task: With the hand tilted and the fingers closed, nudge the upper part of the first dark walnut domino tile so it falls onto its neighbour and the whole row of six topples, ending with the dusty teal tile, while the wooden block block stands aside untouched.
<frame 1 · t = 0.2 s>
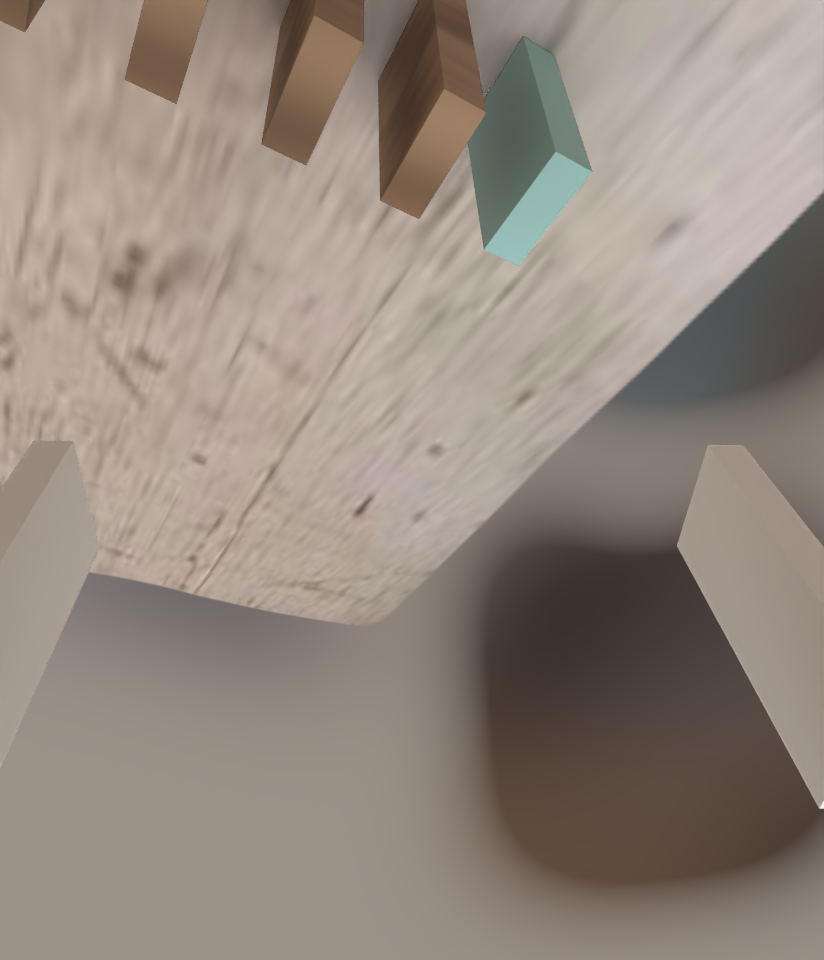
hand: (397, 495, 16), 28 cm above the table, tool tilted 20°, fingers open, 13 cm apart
domino 6: (508, 93, 37), on the table
domino 5: (419, 42, 35), on the table
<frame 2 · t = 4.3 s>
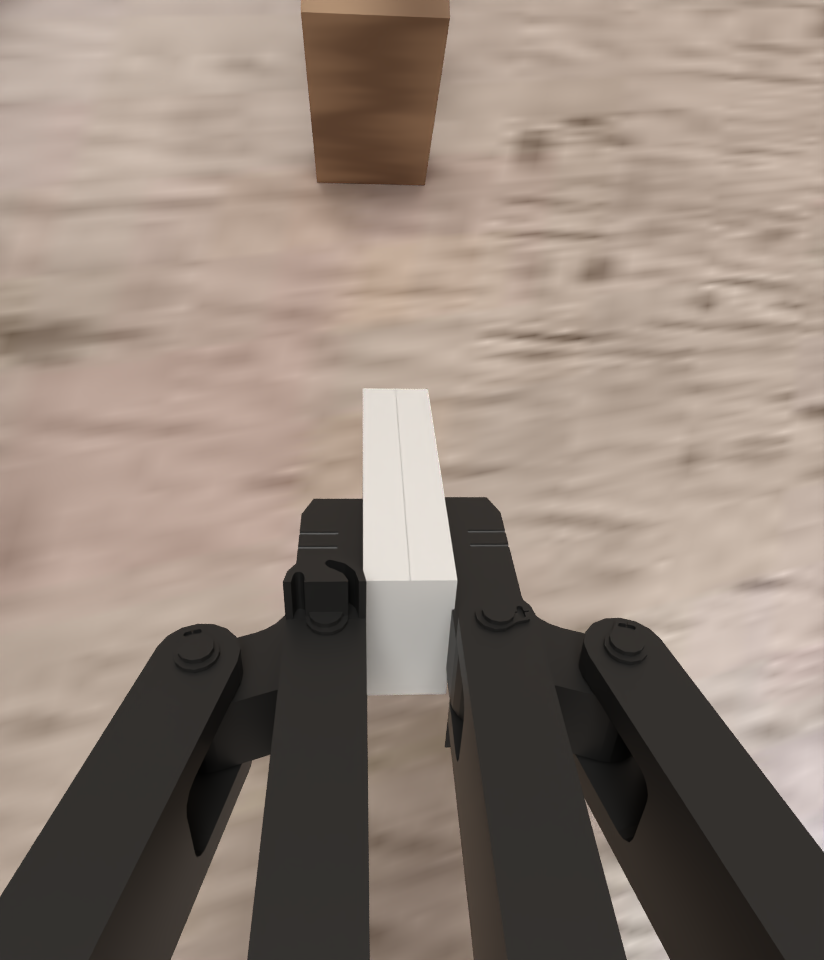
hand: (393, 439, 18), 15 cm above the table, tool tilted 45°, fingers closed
domino 1: (371, 166, 35), on the table
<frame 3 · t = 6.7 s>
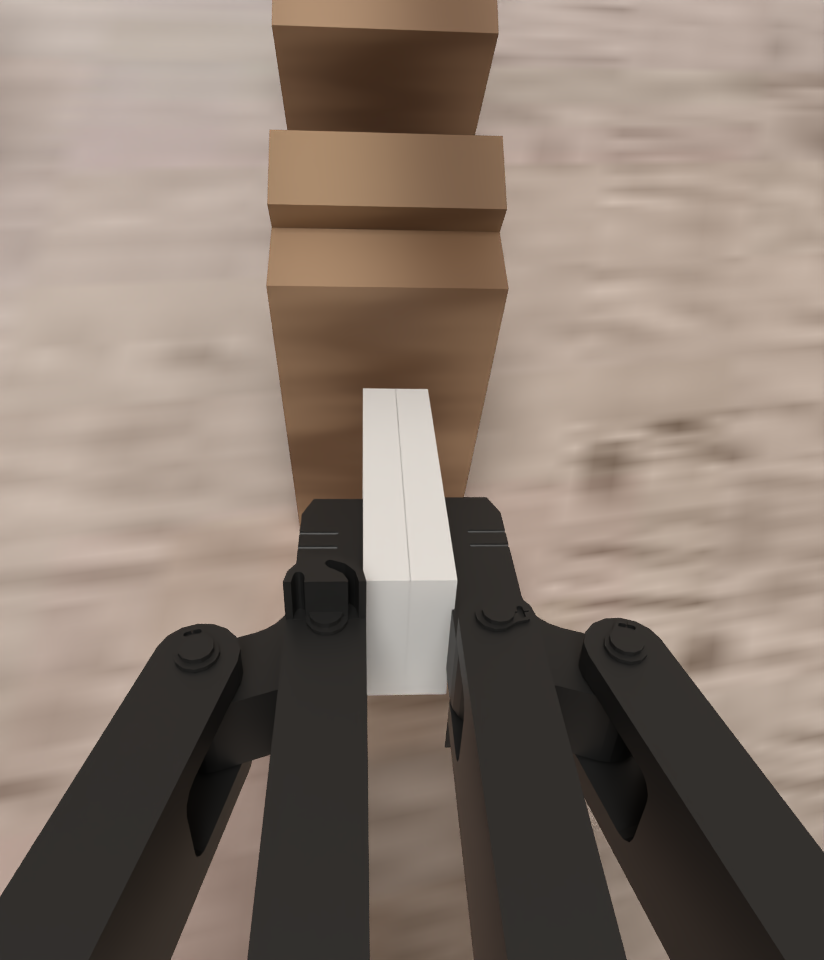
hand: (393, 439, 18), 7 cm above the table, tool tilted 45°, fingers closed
domino 3: (376, 225, 27), on the table
domino 1: (378, 501, 24), on the table, tilted 22°
domino 2: (377, 359, 26), on the table
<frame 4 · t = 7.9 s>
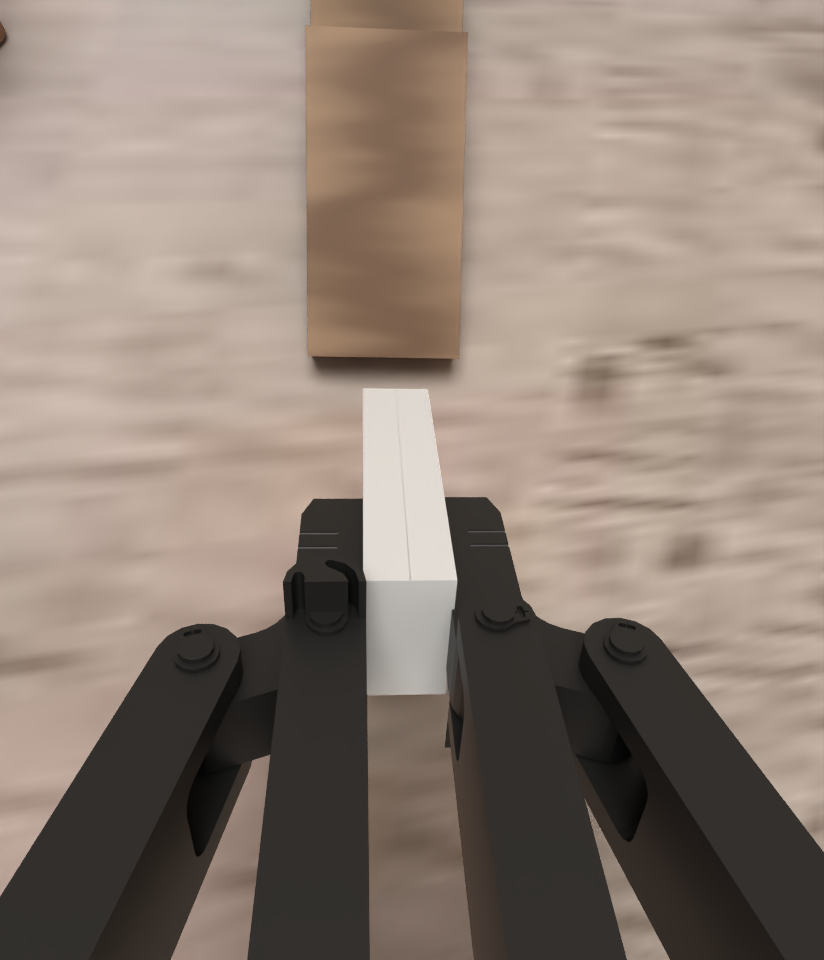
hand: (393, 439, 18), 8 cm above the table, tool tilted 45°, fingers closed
domino 1: (383, 357, 26), point 1 cm above the table, tilted 69°, touching domino 2
domino 2: (381, 225, 27), point 1 cm above the table, tilted 69°, touching domino 1, domino 3
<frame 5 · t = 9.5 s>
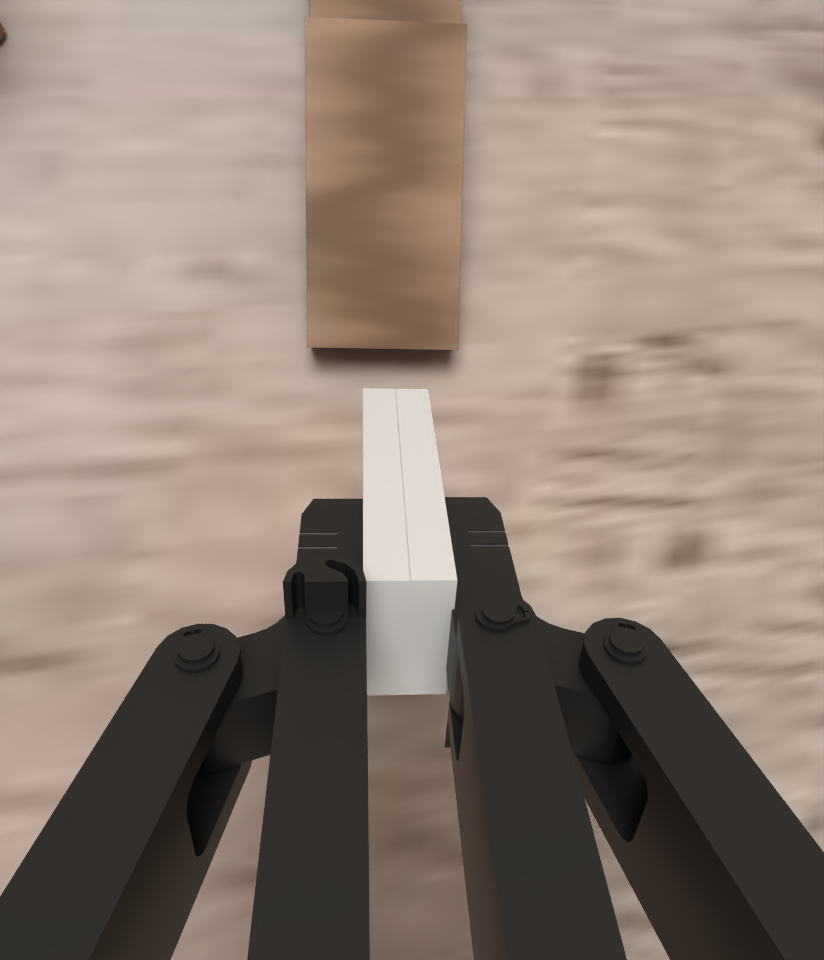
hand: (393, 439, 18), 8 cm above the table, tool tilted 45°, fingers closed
domino 1: (382, 348, 26), point 1 cm above the table, tilted 69°, touching domino 2
domino 2: (381, 216, 27), point 1 cm above the table, tilted 70°, touching domino 1, domino 3
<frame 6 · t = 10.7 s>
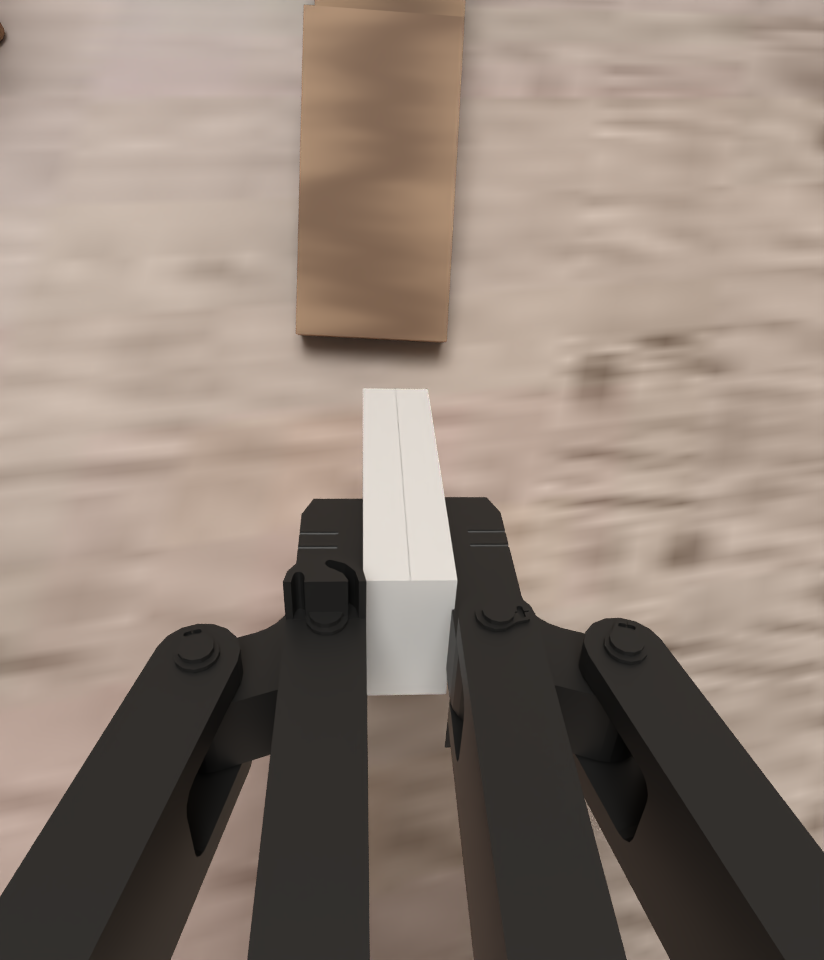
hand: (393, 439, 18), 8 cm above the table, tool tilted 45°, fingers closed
domino 1: (371, 338, 26), point 1 cm above the table, tilted 70°, touching domino 2
domino 2: (378, 205, 27), point 1 cm above the table, tilted 71°, touching domino 1
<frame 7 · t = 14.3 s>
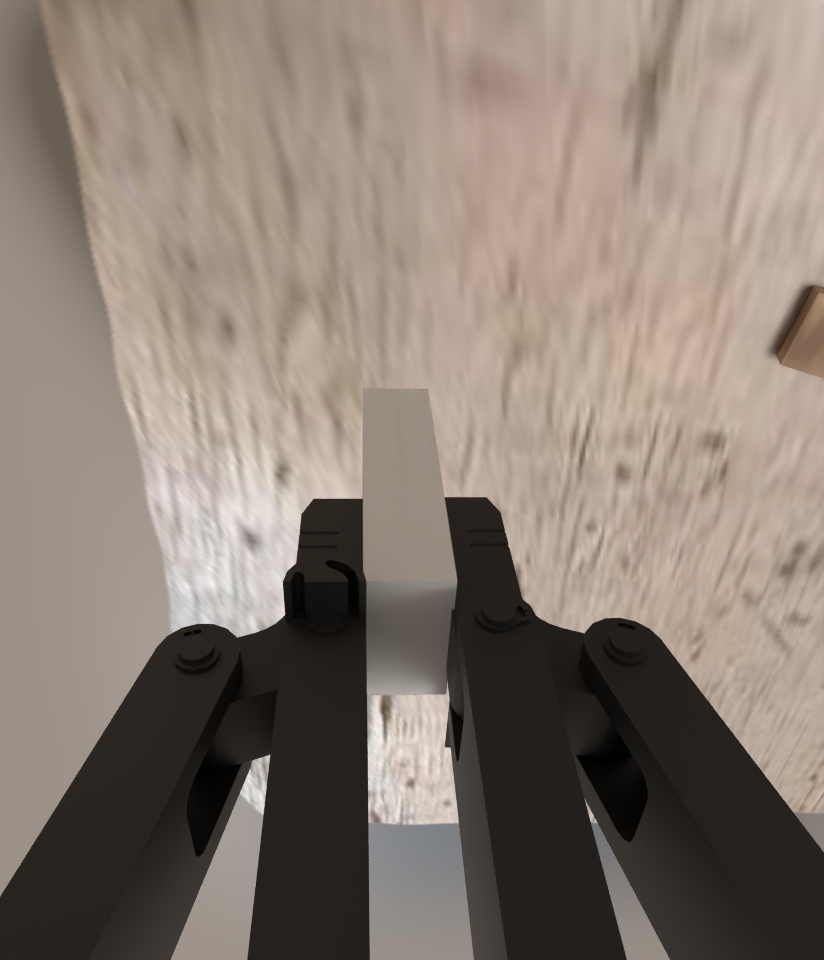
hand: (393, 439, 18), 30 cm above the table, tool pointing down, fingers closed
domino 1: (797, 325, 49), point 1 cm above the table, tilted 70°, touching domino 2
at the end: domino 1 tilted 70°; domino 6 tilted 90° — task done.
